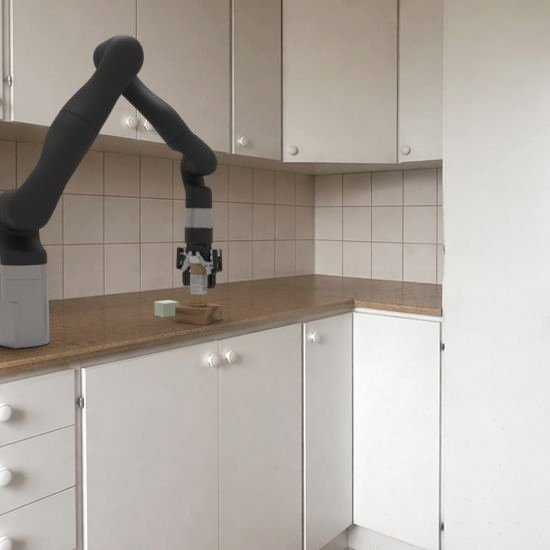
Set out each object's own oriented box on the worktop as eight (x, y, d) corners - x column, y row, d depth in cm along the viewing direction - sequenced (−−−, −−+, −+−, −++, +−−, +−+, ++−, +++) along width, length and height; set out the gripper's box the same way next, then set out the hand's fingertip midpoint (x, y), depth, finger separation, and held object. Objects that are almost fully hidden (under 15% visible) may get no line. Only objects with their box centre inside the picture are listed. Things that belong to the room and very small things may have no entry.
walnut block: (204, 324, 150) (204, 309, 150) (175, 321, 154) (175, 306, 154) (222, 319, 158) (222, 304, 158) (193, 316, 162) (193, 302, 162)
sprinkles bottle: (199, 304, 159) (199, 254, 158) (210, 305, 156) (210, 255, 155) (186, 305, 156) (186, 255, 154) (197, 307, 153) (197, 256, 151)
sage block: (163, 318, 161) (163, 303, 160) (154, 315, 165) (154, 301, 164) (179, 316, 164) (179, 302, 164) (170, 313, 168) (170, 300, 168)
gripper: (169, 225, 155) (169, 286, 156) (210, 226, 147) (209, 290, 148) (188, 225, 161) (188, 284, 162) (228, 226, 153) (228, 287, 154)
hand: (198, 287), depth 155 cm, fingers open, 8 cm apart
